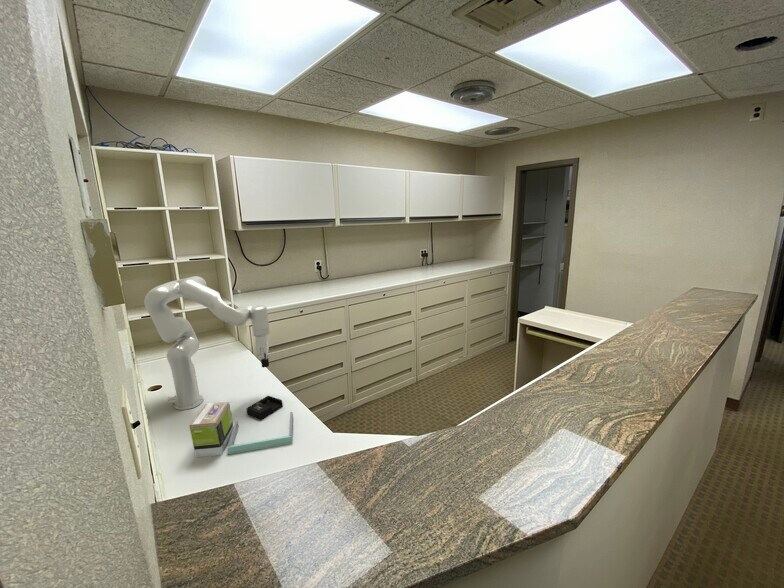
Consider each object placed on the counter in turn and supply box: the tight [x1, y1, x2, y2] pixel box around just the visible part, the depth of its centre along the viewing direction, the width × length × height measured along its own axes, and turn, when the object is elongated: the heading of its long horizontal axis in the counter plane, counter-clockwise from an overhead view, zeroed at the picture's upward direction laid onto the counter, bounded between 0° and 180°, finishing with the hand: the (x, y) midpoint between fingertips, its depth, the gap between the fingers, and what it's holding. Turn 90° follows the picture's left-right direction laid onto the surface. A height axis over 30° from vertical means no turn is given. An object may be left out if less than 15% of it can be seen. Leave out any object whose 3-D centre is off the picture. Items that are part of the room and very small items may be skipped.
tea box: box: [189, 401, 234, 458], centre depth 141 cm, size 15×10×15 cm, turn 5°
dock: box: [226, 411, 294, 455], centre depth 148 cm, size 24×18×3 cm
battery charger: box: [246, 395, 284, 421], centre depth 166 cm, size 13×10×4 cm
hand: (265, 366), depth 174 cm, fingers closed
